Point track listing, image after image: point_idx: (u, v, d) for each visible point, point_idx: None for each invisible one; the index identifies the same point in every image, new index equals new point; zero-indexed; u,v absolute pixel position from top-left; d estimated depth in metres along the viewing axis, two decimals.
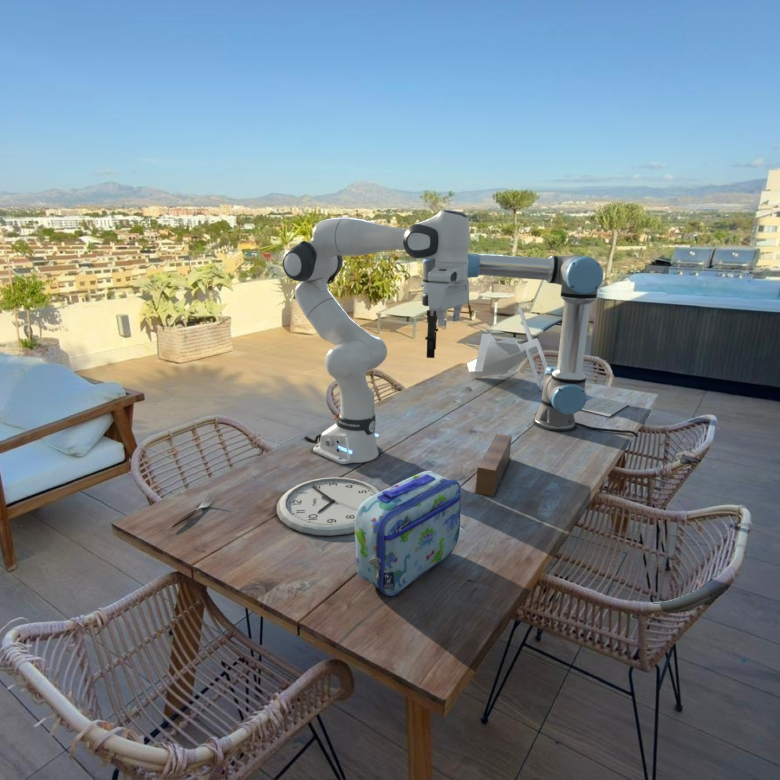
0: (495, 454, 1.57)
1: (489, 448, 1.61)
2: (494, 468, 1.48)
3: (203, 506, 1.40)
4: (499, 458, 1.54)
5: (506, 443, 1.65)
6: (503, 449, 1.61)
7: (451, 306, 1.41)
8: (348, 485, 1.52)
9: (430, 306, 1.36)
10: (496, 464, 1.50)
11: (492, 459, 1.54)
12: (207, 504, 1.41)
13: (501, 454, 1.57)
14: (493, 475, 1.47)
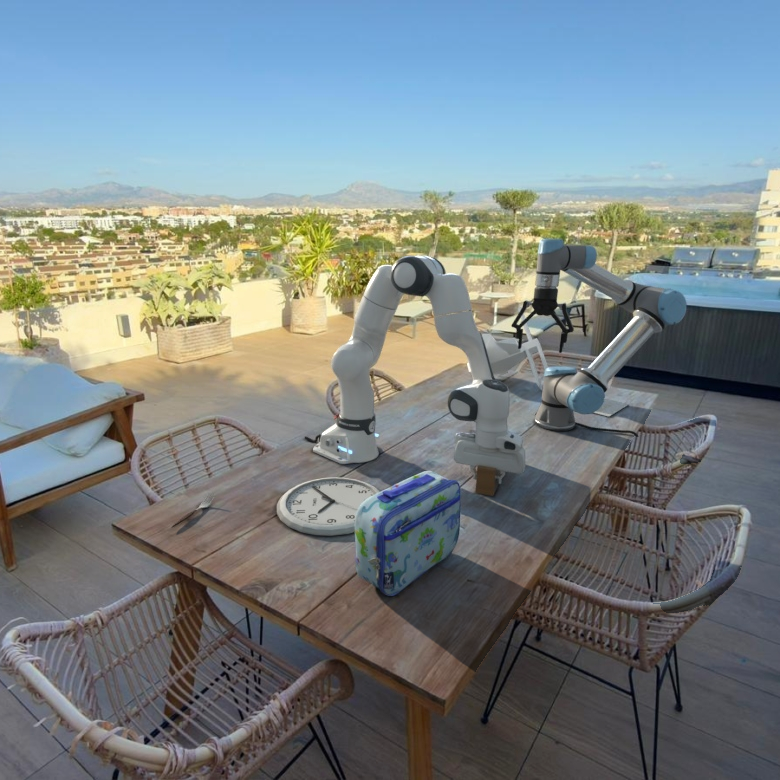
0: None
1: None
2: (494, 468, 1.48)
3: (203, 506, 1.40)
4: None
5: None
6: None
7: None
8: (348, 485, 1.52)
9: (523, 470, 1.46)
10: None
11: None
12: (207, 504, 1.41)
13: None
14: (493, 475, 1.47)
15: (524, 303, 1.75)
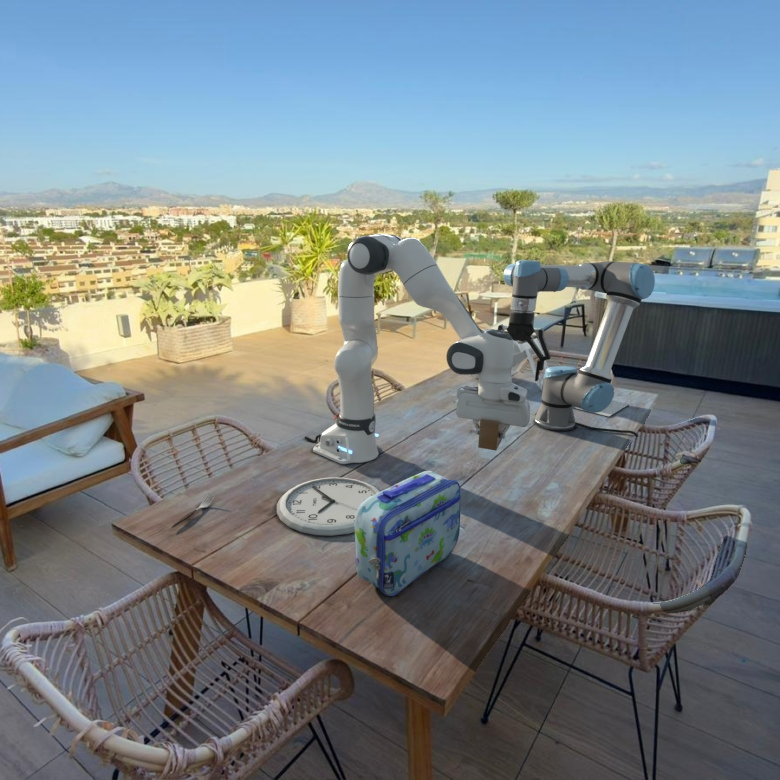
0: None
1: None
2: (497, 421, 1.44)
3: (203, 506, 1.40)
4: None
5: None
6: None
7: None
8: (348, 485, 1.52)
9: None
10: None
11: None
12: (207, 504, 1.41)
13: None
14: (496, 428, 1.43)
15: (499, 327, 1.65)
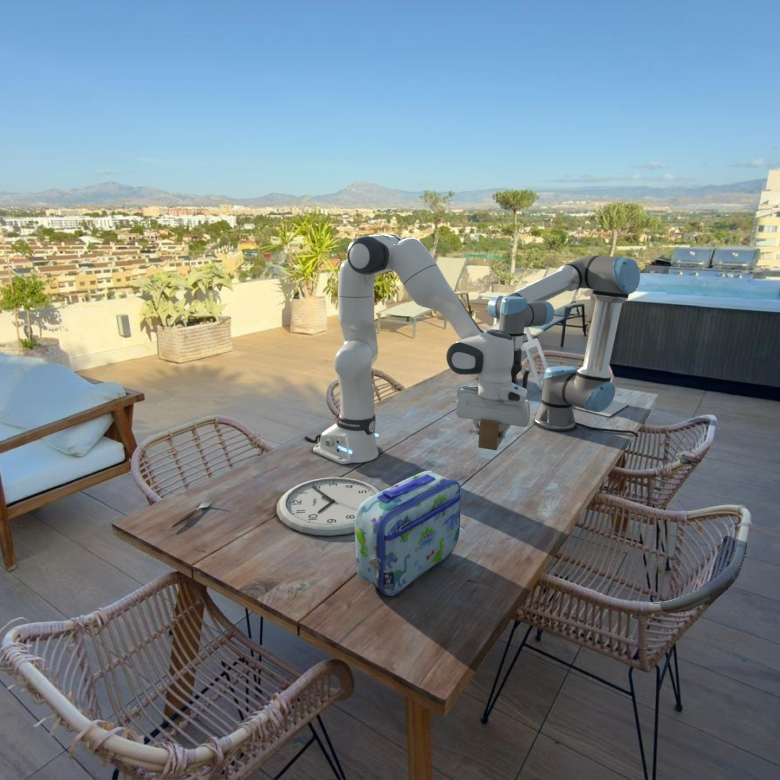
0: None
1: None
2: (497, 421, 1.44)
3: (203, 506, 1.40)
4: None
5: None
6: None
7: None
8: (348, 485, 1.52)
9: (528, 423, 1.42)
10: None
11: None
12: (207, 504, 1.41)
13: None
14: (496, 428, 1.43)
15: None
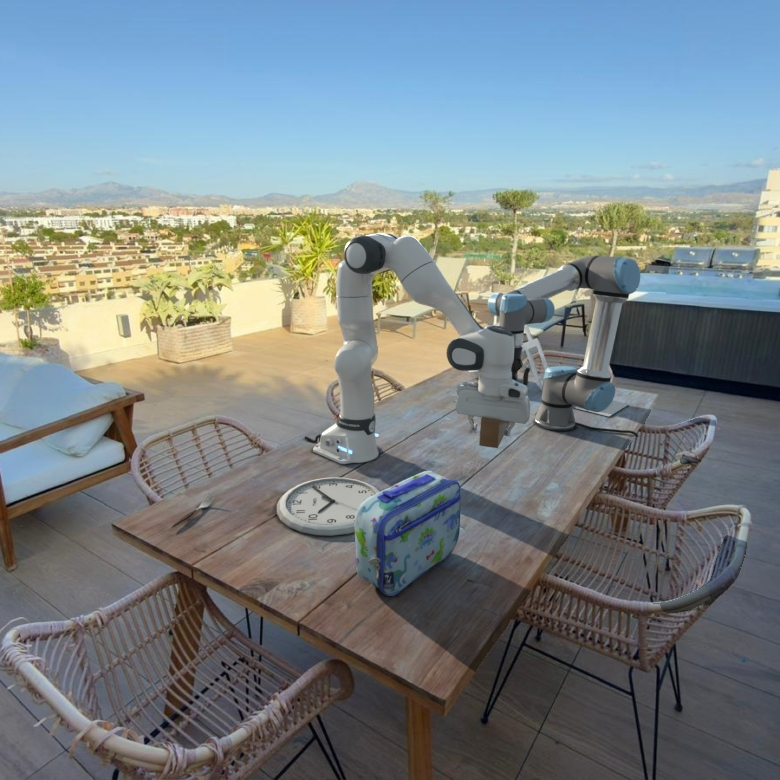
0: None
1: None
2: None
3: (203, 506, 1.40)
4: None
5: None
6: None
7: None
8: (348, 485, 1.52)
9: (528, 419, 1.41)
10: None
11: None
12: (207, 504, 1.41)
13: None
14: (497, 426, 1.43)
15: None
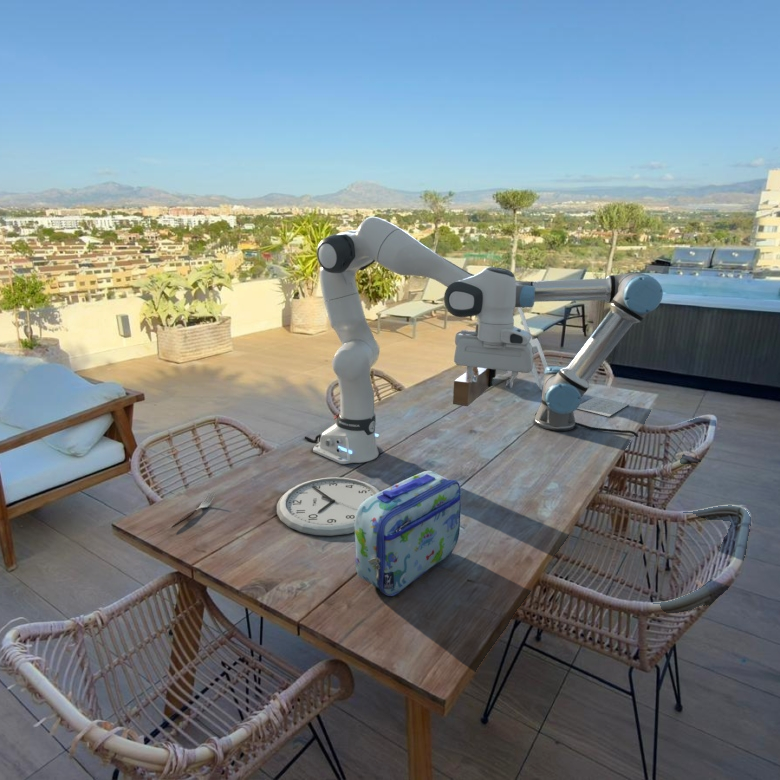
0: None
1: None
2: (468, 381, 1.71)
3: (203, 506, 1.40)
4: None
5: (486, 368, 1.87)
6: (482, 371, 1.83)
7: None
8: (348, 485, 1.52)
9: (531, 368, 1.31)
10: None
11: (469, 376, 1.76)
12: (207, 504, 1.41)
13: (478, 374, 1.79)
14: (467, 387, 1.70)
15: None
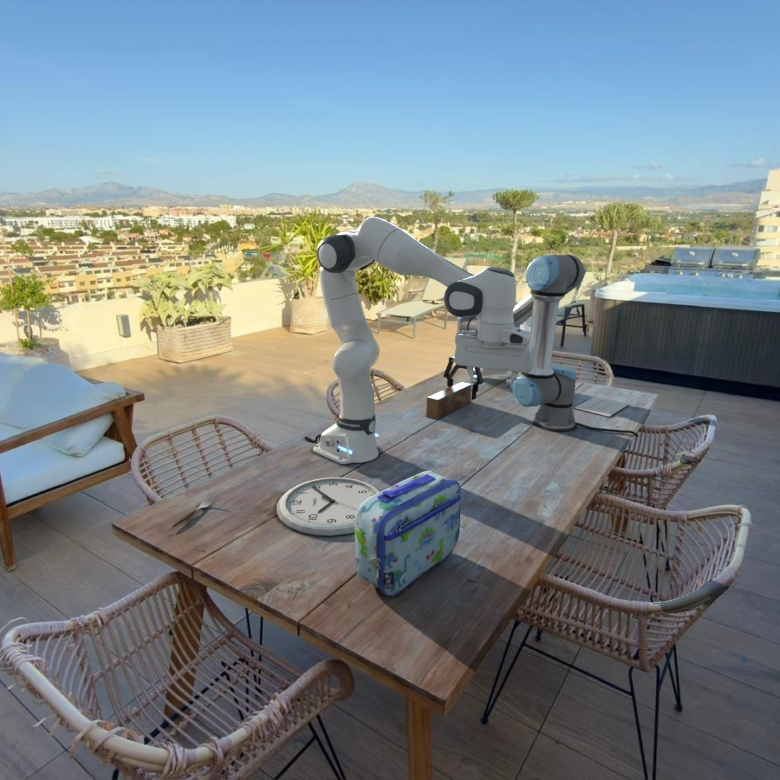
0: (447, 392, 2.15)
1: (446, 389, 2.20)
2: (438, 398, 2.07)
3: (203, 506, 1.40)
4: (448, 394, 2.13)
5: (462, 387, 2.22)
6: (456, 390, 2.18)
7: None
8: (348, 485, 1.52)
9: (531, 368, 1.31)
10: (442, 397, 2.09)
11: (442, 394, 2.13)
12: (207, 504, 1.41)
13: (452, 392, 2.15)
14: (436, 403, 2.07)
15: (449, 358, 2.26)
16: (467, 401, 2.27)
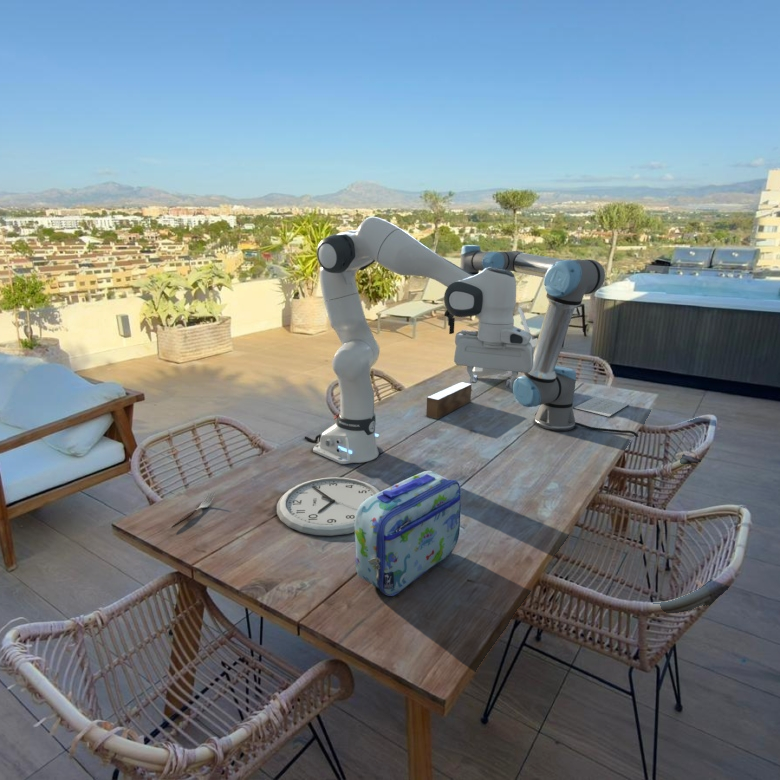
0: (447, 392, 2.15)
1: (446, 389, 2.20)
2: (438, 398, 2.07)
3: (203, 506, 1.40)
4: (448, 394, 2.13)
5: (462, 387, 2.22)
6: (456, 390, 2.18)
7: None
8: (348, 485, 1.52)
9: (531, 368, 1.31)
10: (442, 397, 2.09)
11: (442, 394, 2.13)
12: (207, 504, 1.41)
13: (452, 392, 2.15)
14: (436, 403, 2.07)
15: None
16: (467, 401, 2.27)
